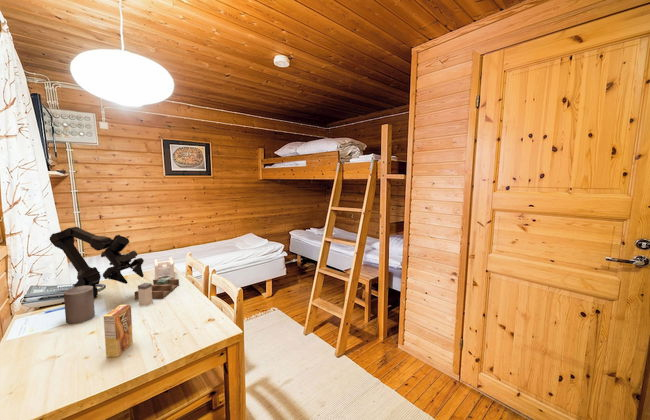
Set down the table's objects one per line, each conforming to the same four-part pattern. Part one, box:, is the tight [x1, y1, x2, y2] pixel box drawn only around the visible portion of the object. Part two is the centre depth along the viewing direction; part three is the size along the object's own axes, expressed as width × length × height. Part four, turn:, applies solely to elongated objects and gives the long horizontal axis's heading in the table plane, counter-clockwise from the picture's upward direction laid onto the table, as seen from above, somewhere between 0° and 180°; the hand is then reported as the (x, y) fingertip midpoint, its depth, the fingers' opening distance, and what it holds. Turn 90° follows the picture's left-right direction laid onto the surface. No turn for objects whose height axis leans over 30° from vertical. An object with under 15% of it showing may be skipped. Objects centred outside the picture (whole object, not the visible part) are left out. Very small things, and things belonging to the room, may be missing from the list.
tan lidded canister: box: [137, 282, 153, 307], centre depth 135 cm, size 4×4×10 cm
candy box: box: [103, 304, 134, 358], centre depth 98 cm, size 9×4×15 cm, turn 6°
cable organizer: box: [153, 256, 175, 280], centre depth 172 cm, size 15×11×12 cm
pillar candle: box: [63, 286, 96, 325], centre depth 119 cm, size 10×10×15 cm
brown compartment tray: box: [134, 278, 180, 301], centre depth 149 cm, size 14×18×5 cm
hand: (135, 280), depth 135 cm, fingers open, 9 cm apart
